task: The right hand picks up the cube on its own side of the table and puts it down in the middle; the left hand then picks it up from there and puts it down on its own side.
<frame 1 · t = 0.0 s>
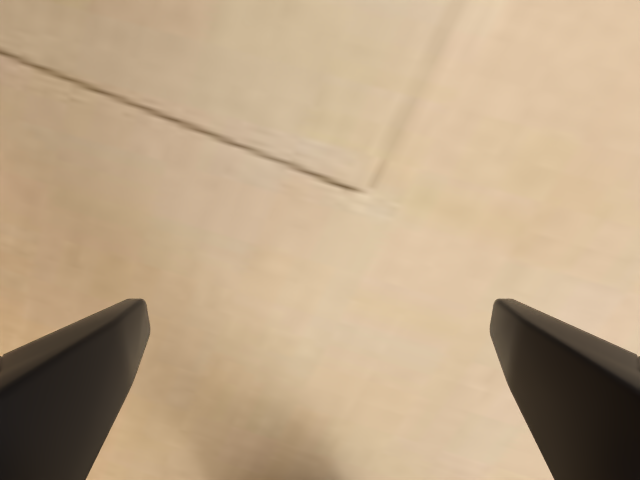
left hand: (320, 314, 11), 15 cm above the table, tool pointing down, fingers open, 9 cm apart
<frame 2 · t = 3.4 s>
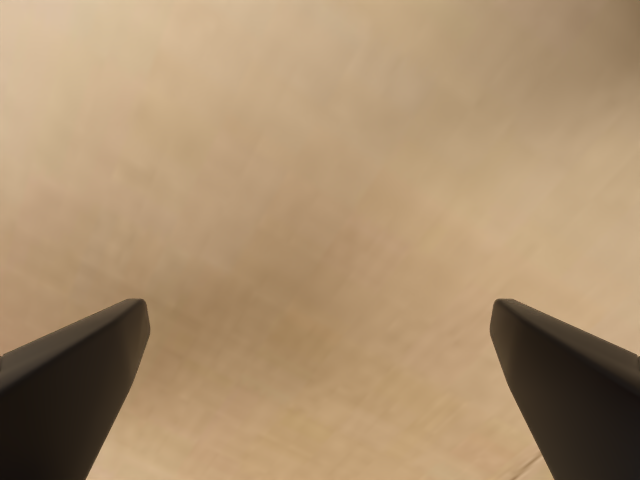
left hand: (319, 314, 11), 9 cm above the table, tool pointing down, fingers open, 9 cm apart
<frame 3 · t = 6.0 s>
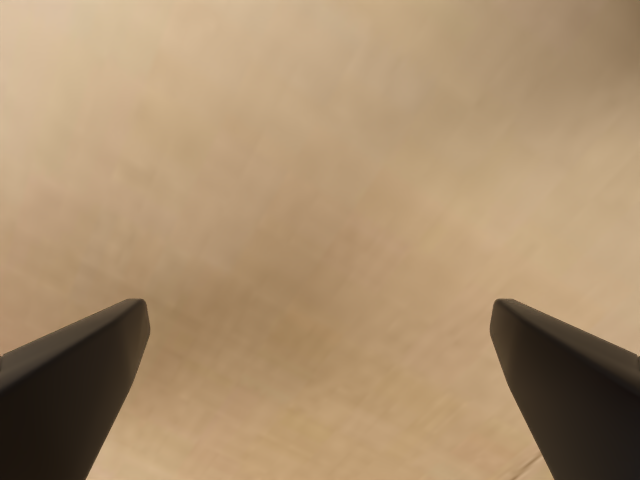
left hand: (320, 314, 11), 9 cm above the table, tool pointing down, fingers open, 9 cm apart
when the right hand's fingers open (1 cm above the table, at t = 8.9 s): cube drops 1 cm, on the table.
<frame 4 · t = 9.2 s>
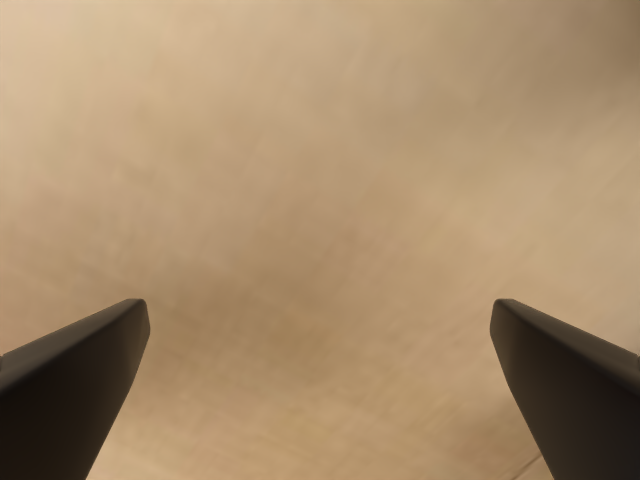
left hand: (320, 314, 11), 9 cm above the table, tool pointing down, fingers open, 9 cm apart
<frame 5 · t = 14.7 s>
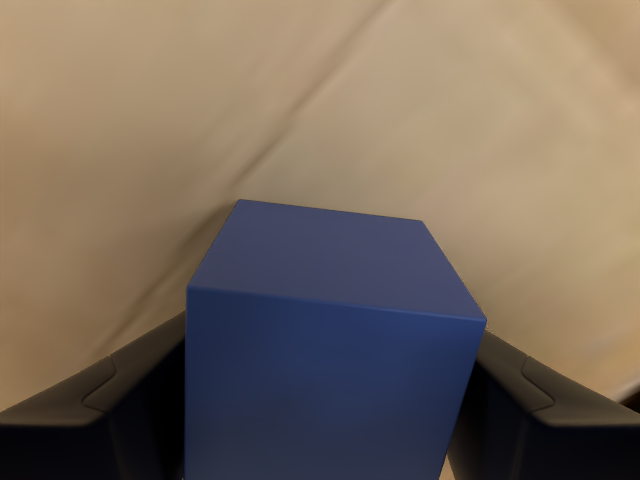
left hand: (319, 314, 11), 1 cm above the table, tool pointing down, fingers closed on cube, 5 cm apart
cube: (319, 295, 12), on the table, touching left hand
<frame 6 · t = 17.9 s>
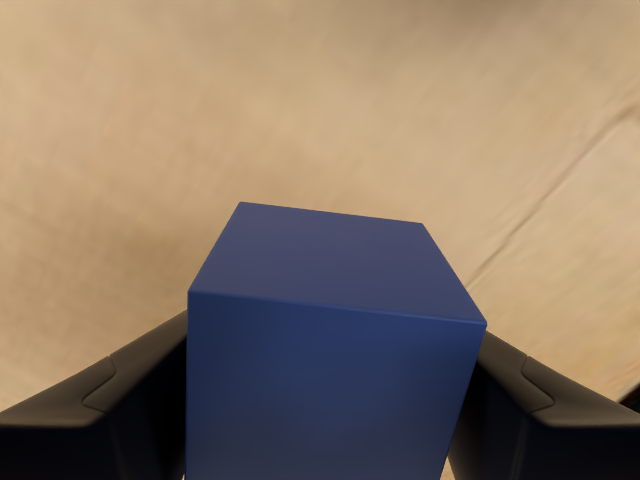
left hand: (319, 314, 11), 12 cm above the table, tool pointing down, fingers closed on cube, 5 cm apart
cube: (320, 297, 12), point 11 cm above the table, touching left hand
when the left hand's fingers open (2 cm above the table, at t = 21.5 s): cube drops 1 cm, on the table.
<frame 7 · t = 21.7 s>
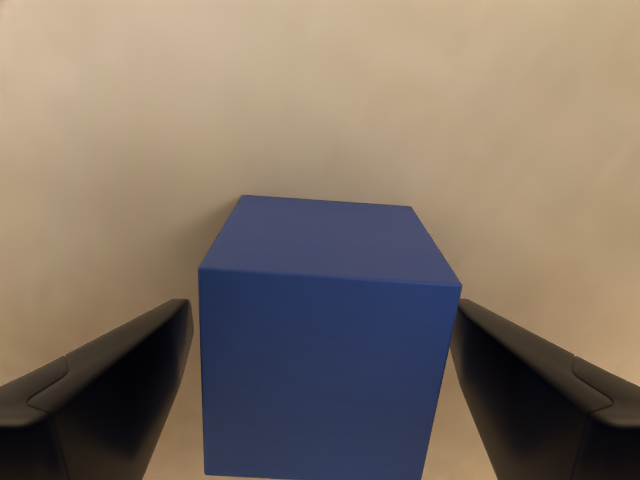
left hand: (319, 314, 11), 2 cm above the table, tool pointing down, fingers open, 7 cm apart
cube: (320, 280, 13), on the table
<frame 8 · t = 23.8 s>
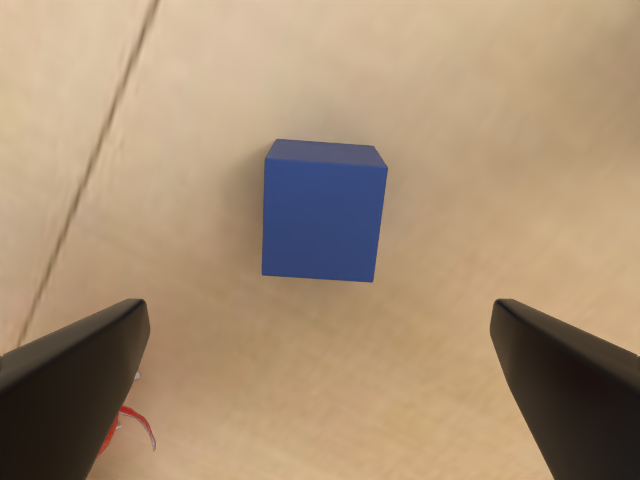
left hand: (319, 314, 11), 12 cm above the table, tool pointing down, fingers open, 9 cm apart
cube: (321, 192, 23), on the table
fish: (102, 410, 28), on the table
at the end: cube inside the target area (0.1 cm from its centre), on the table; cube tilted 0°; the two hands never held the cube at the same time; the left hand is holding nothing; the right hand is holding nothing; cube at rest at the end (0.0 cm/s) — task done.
